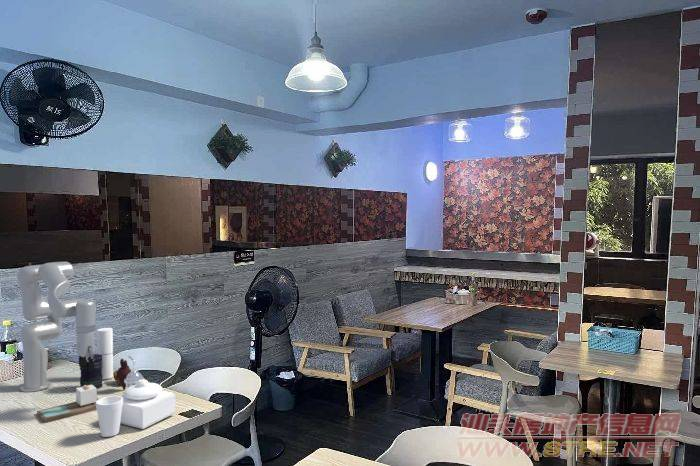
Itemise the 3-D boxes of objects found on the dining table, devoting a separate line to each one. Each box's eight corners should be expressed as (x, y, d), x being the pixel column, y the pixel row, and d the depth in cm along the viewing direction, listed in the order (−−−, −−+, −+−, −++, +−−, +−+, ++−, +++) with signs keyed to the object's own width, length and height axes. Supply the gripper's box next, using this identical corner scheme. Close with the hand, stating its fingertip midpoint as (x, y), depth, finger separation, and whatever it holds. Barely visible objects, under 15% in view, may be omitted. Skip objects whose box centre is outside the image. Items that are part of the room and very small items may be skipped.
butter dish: (175, 412, 208) (175, 376, 208) (141, 429, 192) (141, 390, 191) (145, 405, 216) (145, 370, 215) (110, 421, 199) (110, 383, 199)
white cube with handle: (76, 401, 213) (76, 386, 213) (92, 397, 217) (91, 382, 217) (80, 405, 208) (80, 390, 208) (96, 401, 213) (96, 386, 213)
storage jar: (107, 386, 239) (106, 356, 238) (87, 392, 231) (86, 361, 230) (95, 382, 244) (95, 353, 244) (75, 388, 236) (75, 357, 235)
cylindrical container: (106, 379, 248) (106, 331, 247) (94, 378, 249) (94, 330, 248) (116, 375, 255) (115, 328, 254) (104, 374, 256) (103, 327, 255)
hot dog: (122, 378, 251) (122, 368, 251) (131, 385, 241) (131, 375, 241) (112, 380, 248) (111, 370, 247) (120, 387, 238) (120, 377, 238)
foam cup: (102, 428, 193) (102, 395, 192) (126, 427, 193) (126, 395, 193) (92, 439, 183) (91, 405, 183) (117, 438, 184) (117, 404, 183)
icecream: (134, 390, 234) (134, 359, 233) (118, 394, 229) (118, 362, 228) (129, 386, 239) (128, 356, 238) (113, 390, 234) (113, 359, 233)
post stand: (36, 414, 205) (36, 397, 205) (95, 400, 221) (95, 383, 221) (44, 423, 196) (43, 405, 196) (104, 407, 213) (104, 390, 212)
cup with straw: (123, 406, 214) (122, 361, 213) (124, 399, 222) (124, 356, 222) (144, 404, 217) (143, 359, 216) (144, 396, 226) (144, 354, 225)
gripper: (70, 327, 215) (71, 365, 216) (82, 334, 203) (83, 374, 203) (88, 324, 220) (89, 362, 221) (101, 331, 208) (102, 370, 209)
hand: (86, 368), depth 212 cm, fingers open, 9 cm apart
